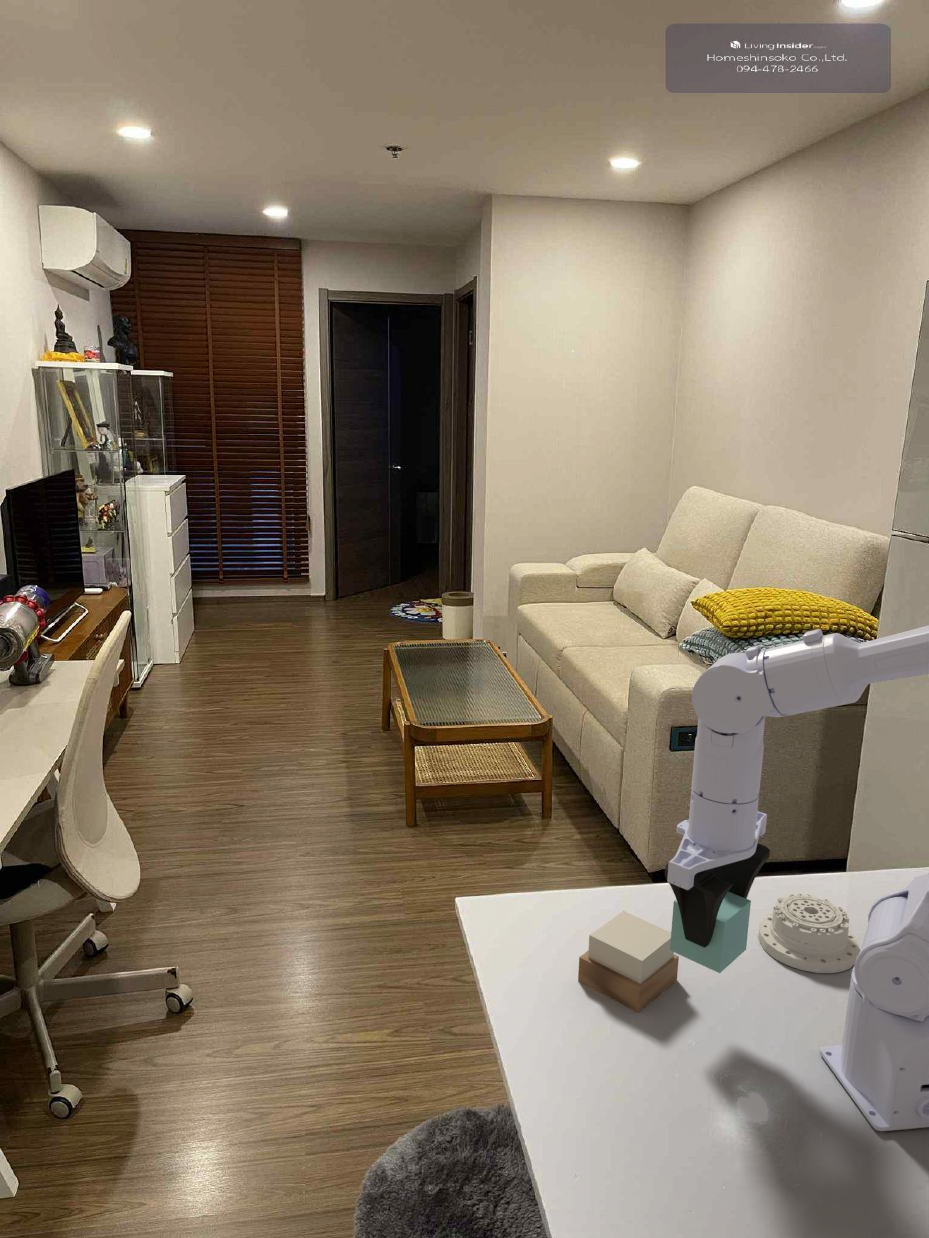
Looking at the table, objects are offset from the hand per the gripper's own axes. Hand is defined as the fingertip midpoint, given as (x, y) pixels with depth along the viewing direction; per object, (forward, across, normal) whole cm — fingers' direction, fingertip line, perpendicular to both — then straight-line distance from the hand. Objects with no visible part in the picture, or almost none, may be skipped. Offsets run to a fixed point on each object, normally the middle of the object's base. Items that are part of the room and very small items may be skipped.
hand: (712, 928), depth 85 cm
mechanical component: (+10, -18, +2) cm, 21 cm away
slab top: (+7, 0, -8) cm, 11 cm away
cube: (+2, 0, 0) cm, 2 cm away
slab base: (+10, 0, -8) cm, 13 cm away
